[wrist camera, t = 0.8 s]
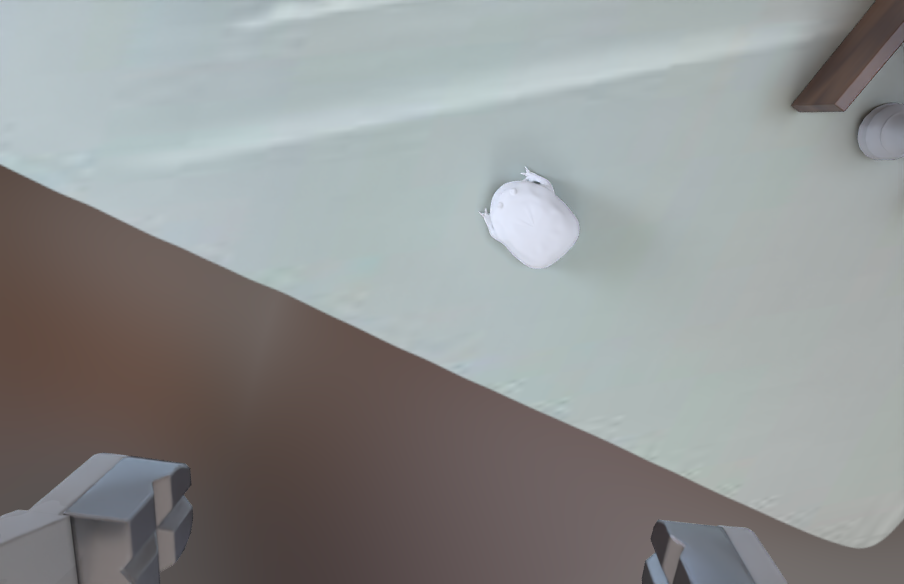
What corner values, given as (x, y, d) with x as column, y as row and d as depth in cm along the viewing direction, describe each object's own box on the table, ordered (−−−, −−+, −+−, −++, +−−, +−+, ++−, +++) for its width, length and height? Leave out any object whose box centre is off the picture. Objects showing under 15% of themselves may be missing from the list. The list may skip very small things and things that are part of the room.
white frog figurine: (470, 213, 50) (469, 221, 46) (526, 157, 48) (530, 161, 44) (533, 275, 51) (536, 288, 47) (589, 223, 49) (598, 232, 46)
